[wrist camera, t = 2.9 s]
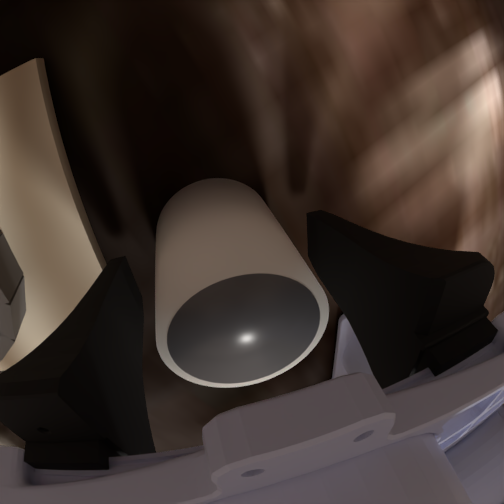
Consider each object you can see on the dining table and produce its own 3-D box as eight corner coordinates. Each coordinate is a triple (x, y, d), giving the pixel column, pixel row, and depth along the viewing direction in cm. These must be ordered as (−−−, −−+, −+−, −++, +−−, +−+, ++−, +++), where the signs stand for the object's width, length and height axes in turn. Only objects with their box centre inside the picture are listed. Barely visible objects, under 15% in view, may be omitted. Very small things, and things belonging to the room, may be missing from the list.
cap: (264, 166, 13) (332, 242, 8) (275, 266, 15) (325, 363, 10) (142, 194, 12) (128, 292, 7) (173, 291, 15) (185, 401, 10)
